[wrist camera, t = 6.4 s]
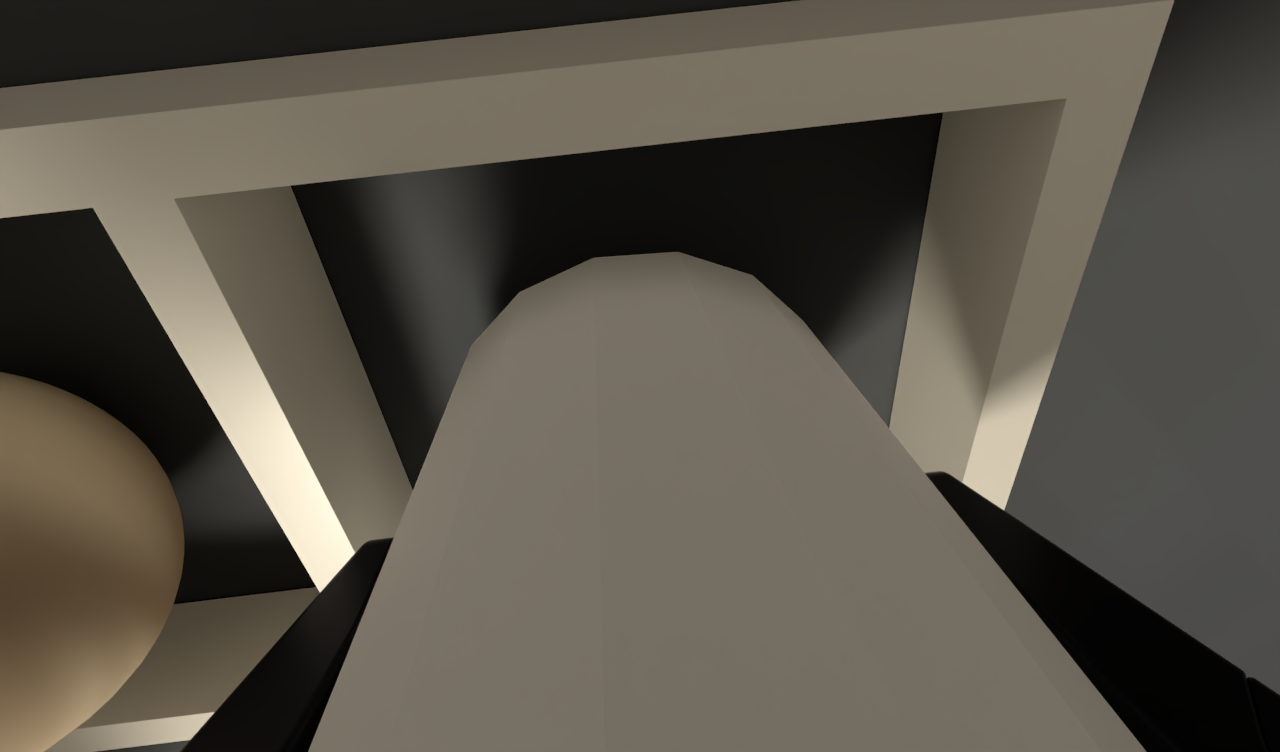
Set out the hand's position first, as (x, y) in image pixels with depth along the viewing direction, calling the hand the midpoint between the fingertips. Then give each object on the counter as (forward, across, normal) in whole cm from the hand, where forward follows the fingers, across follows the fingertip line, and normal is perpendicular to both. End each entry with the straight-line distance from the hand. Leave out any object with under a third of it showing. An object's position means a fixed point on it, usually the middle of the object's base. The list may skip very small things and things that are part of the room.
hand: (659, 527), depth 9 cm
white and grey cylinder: (+2, 0, 0) cm, 2 cm away
